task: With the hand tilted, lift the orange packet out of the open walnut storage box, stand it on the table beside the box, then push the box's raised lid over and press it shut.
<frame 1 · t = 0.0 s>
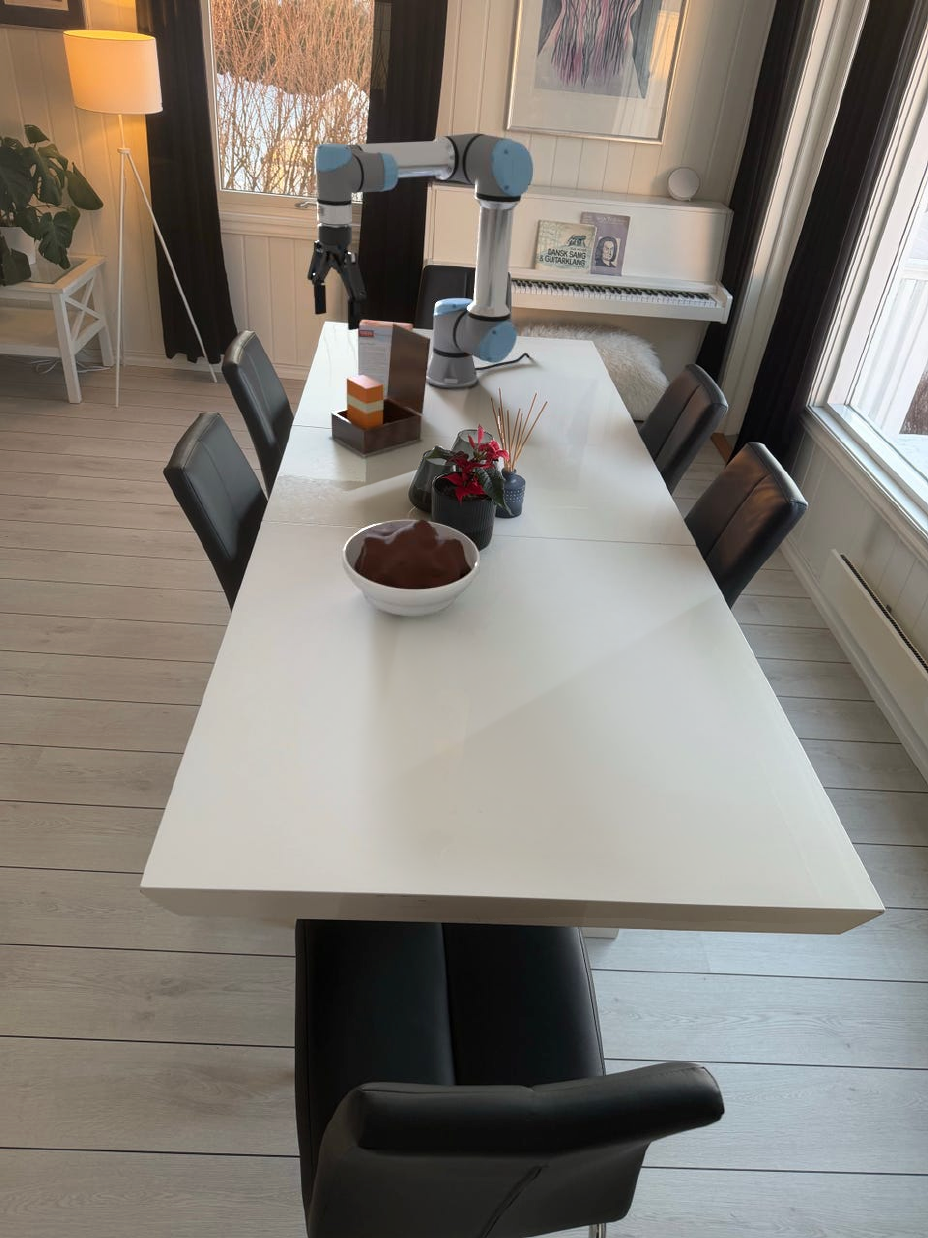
hand: (336, 321, 200), 28 cm above the table, tool pointing down, fingers open, 13 cm apart
packet: (365, 439, 212), point 1 cm above the table, touching storage box
storage box: (376, 439, 215), on the table
bowl of chocolate pudding: (410, 597, 159), on the table
lid: (407, 368, 211), point 16 cm above the table, hinge at 95.0°
cracker box: (385, 400, 237), on the table
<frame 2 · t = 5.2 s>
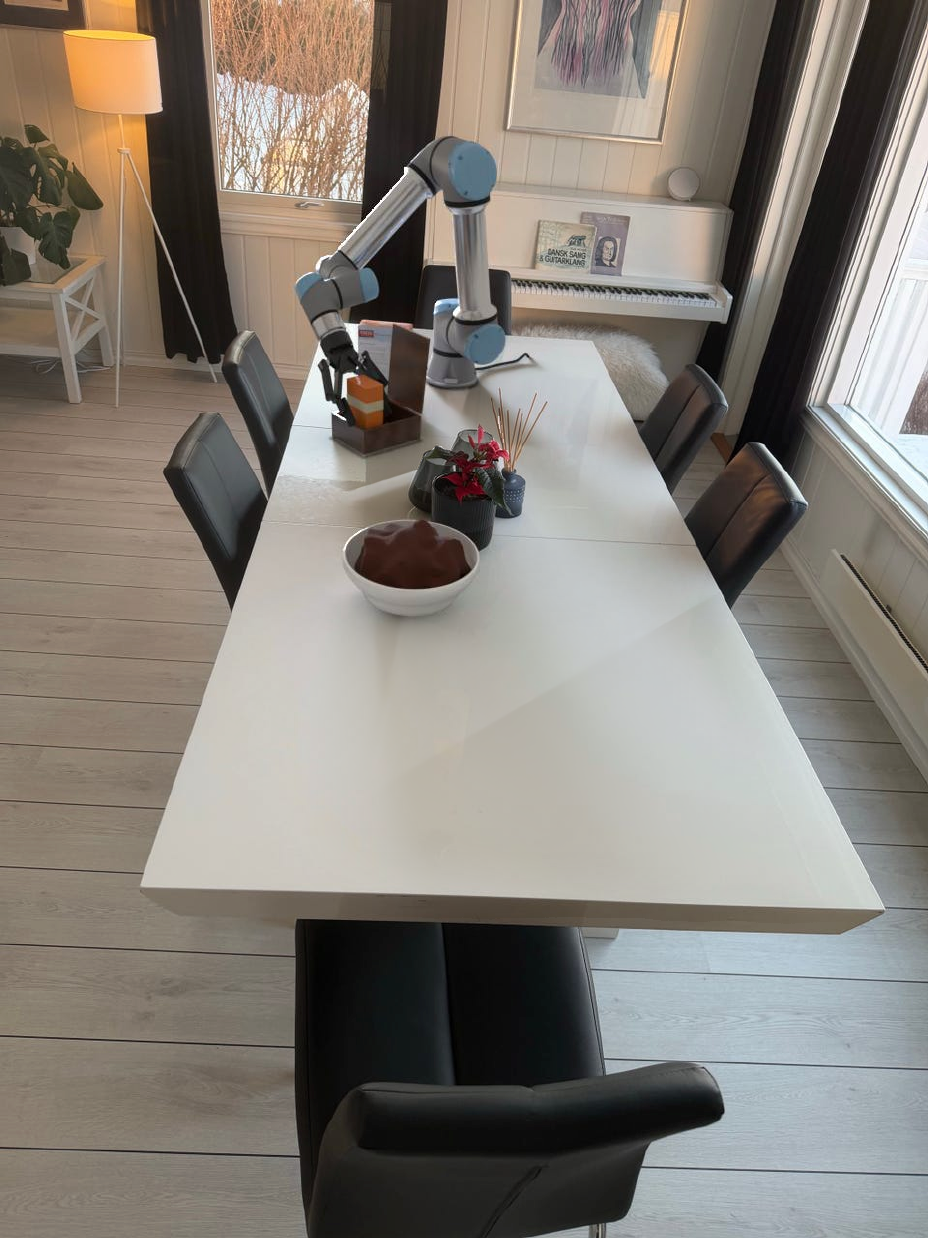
hand: (371, 419, 207), 7 cm above the table, tool tilted 45°, fingers open, 10 cm apart
nothing on the table moved.
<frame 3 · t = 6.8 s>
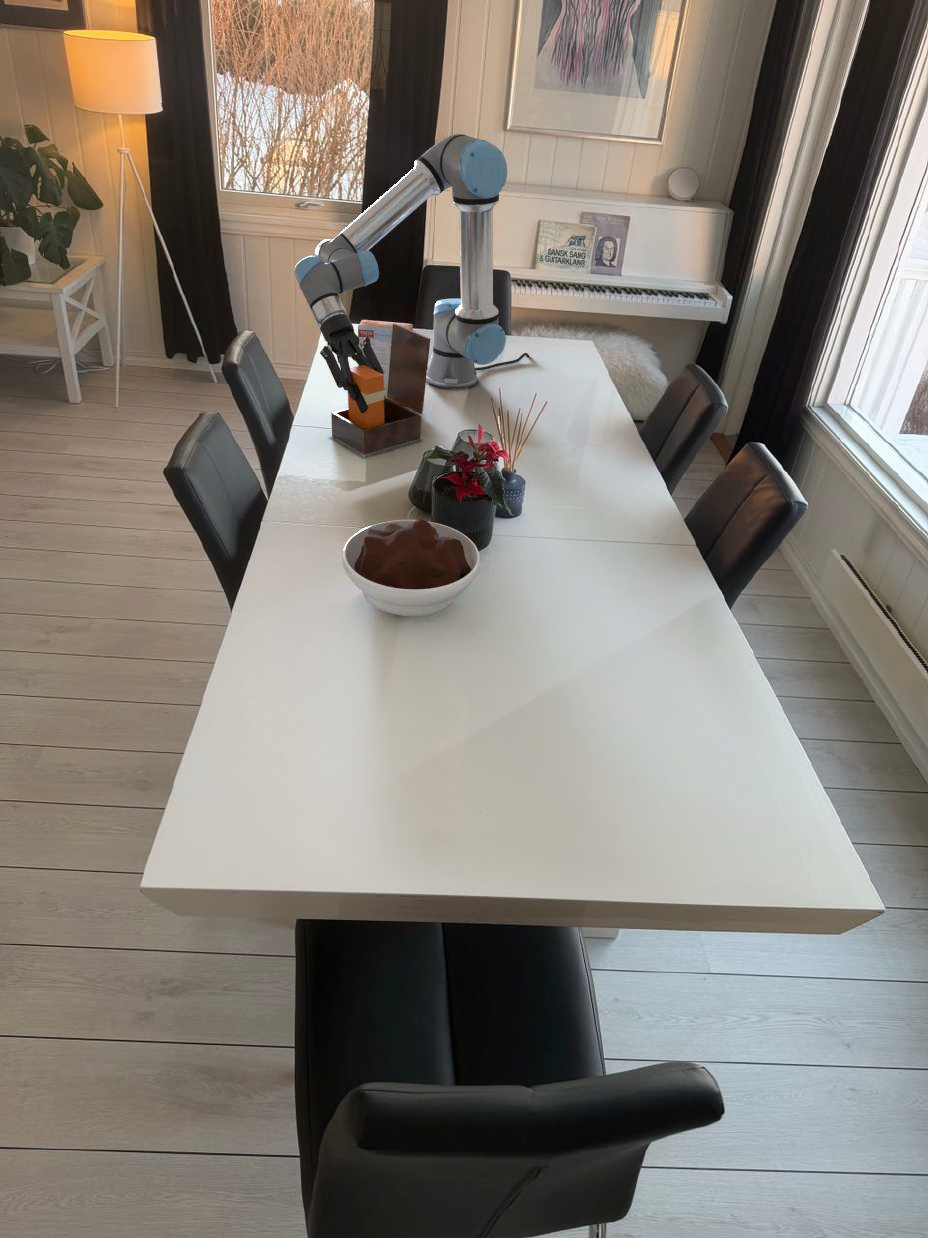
hand: (374, 407, 205), 10 cm above the table, tool tilted 45°, fingers closed on packet, 5 cm apart
packet: (366, 430, 211), point 3 cm above the table, touching gripper
everything else where it was.
when the fingers open (7 cm above the table, at t = 13.8 s): packet stays where it is, on the table.
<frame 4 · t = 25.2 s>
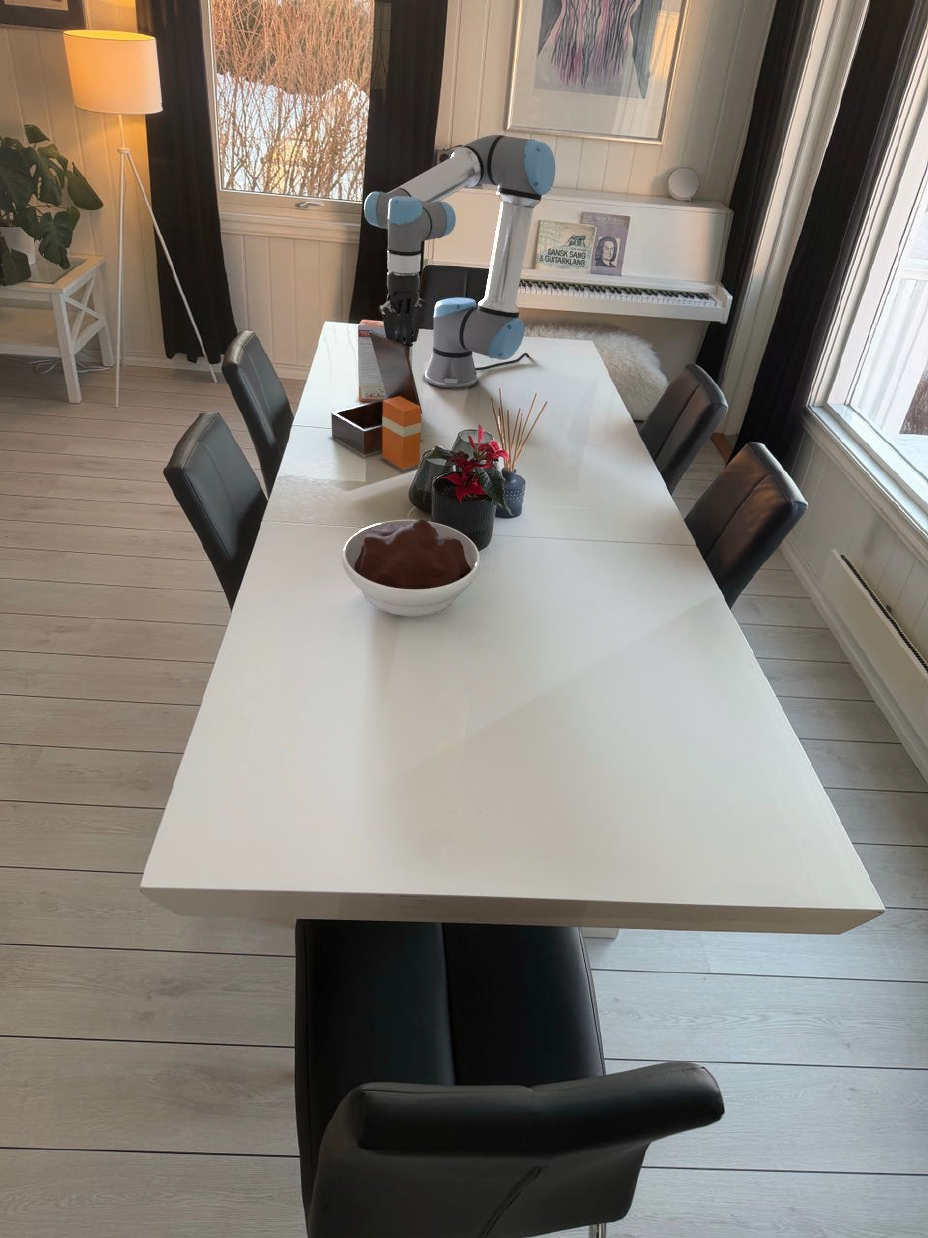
hand: (401, 371, 210), 16 cm above the table, tool pointing down, fingers closed
packet: (400, 463, 205), on the table
lid: (396, 373, 209), point 16 cm above the table, hinge at 72.1°, touching gripper, hand
everything else where it was.
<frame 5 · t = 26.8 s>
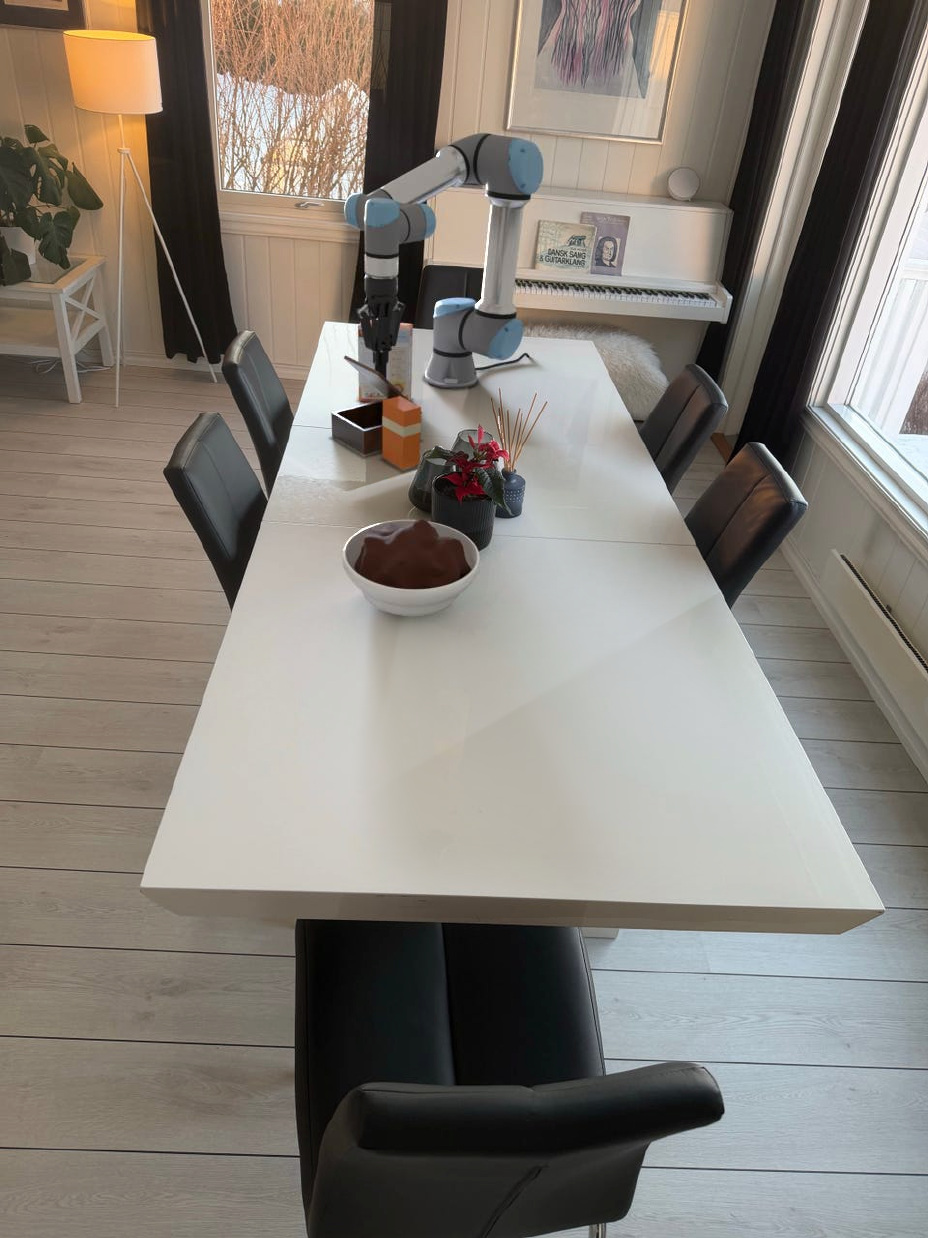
hand: (380, 376, 206), 16 cm above the table, tool pointing down, fingers closed
lid: (383, 385, 208), point 14 cm above the table, hinge at 43.6°
everything else where it was.
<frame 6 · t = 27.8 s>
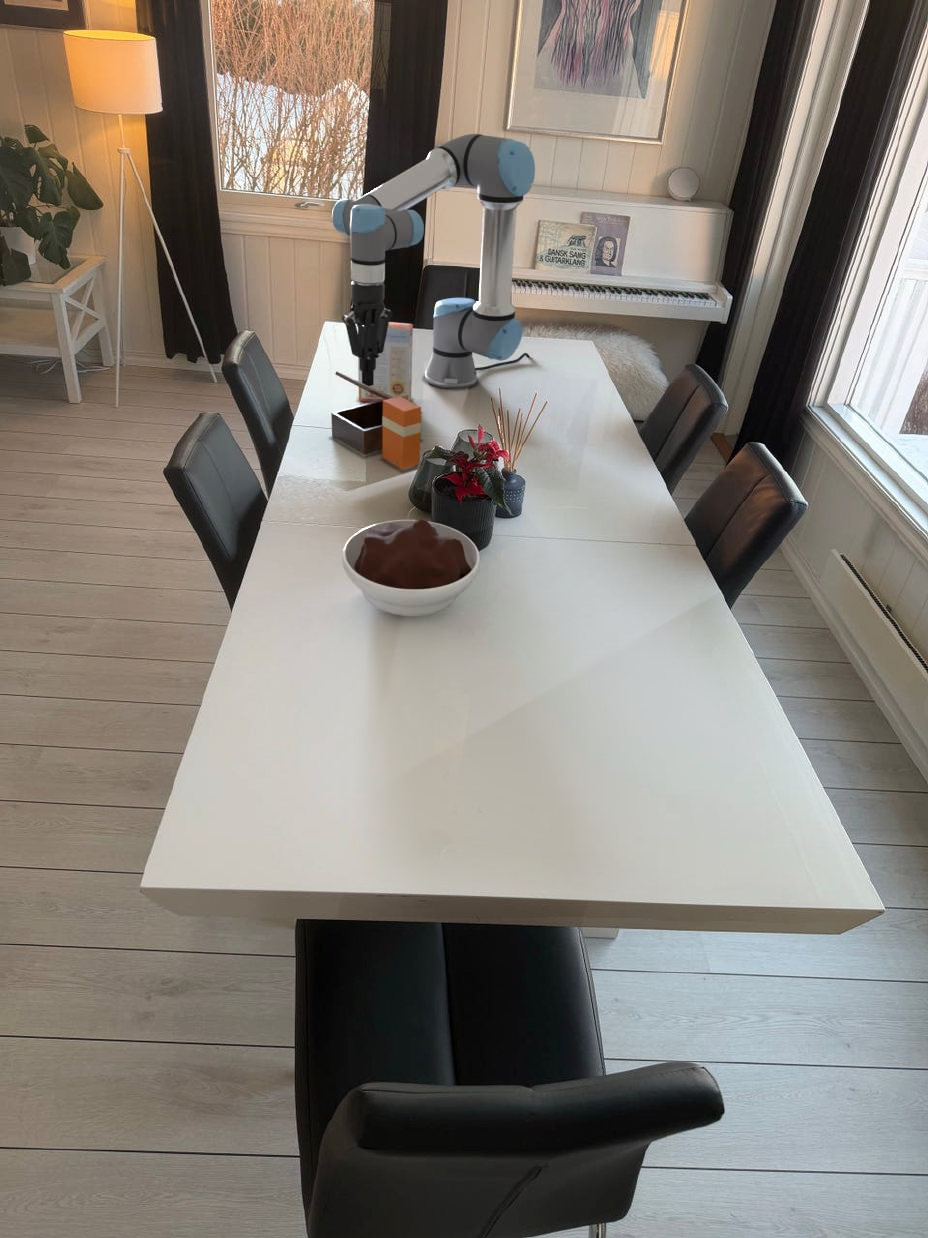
hand: (367, 383, 204), 15 cm above the table, tool pointing down, fingers closed
lid: (379, 393, 208), point 12 cm above the table, hinge at 30.1°, touching gripper
everything else where it was.
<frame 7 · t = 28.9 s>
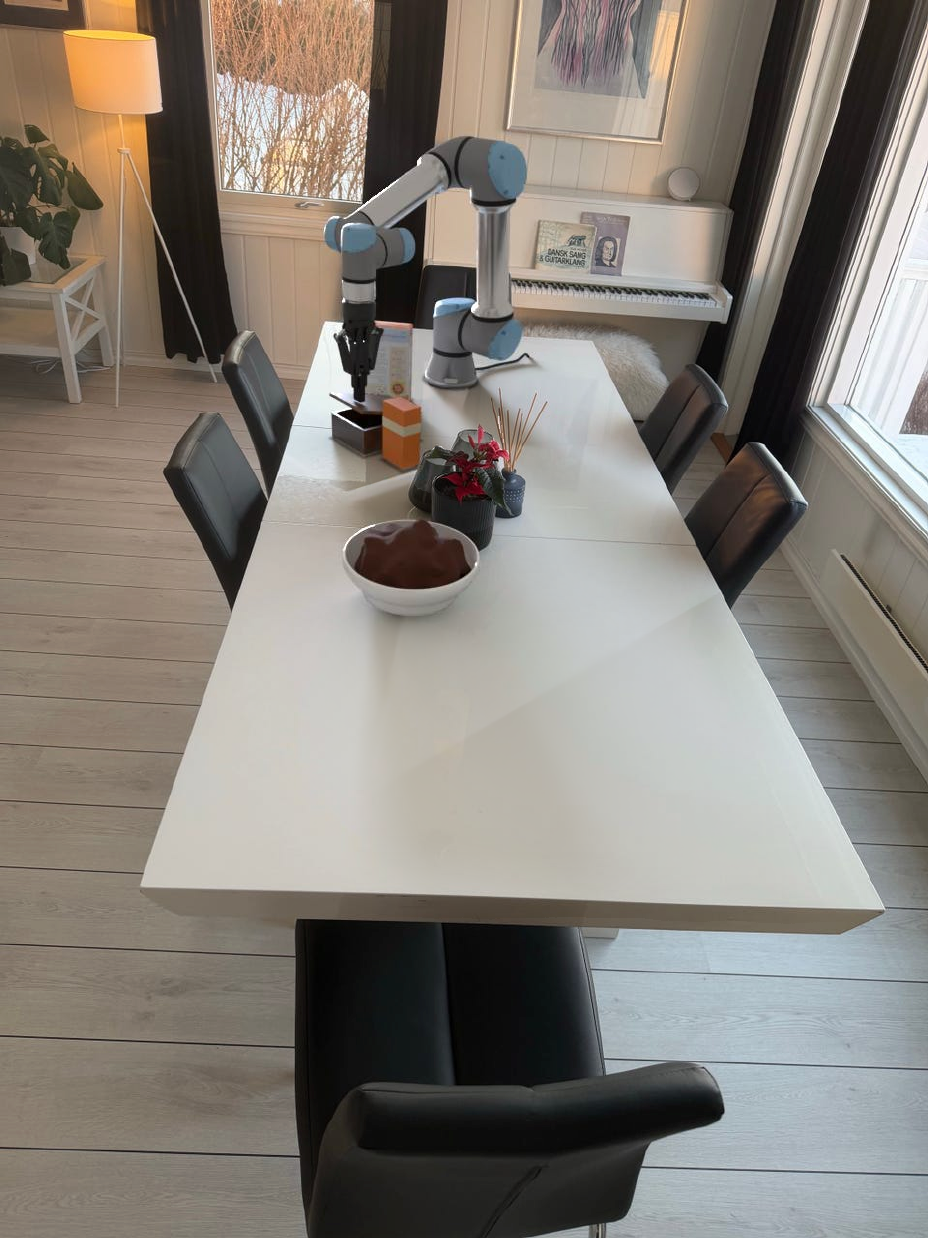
hand: (359, 400, 205), 11 cm above the table, tool pointing down, fingers closed
lid: (375, 404, 209), point 9 cm above the table, hinge at 13.6°, touching gripper
everything else where it was.
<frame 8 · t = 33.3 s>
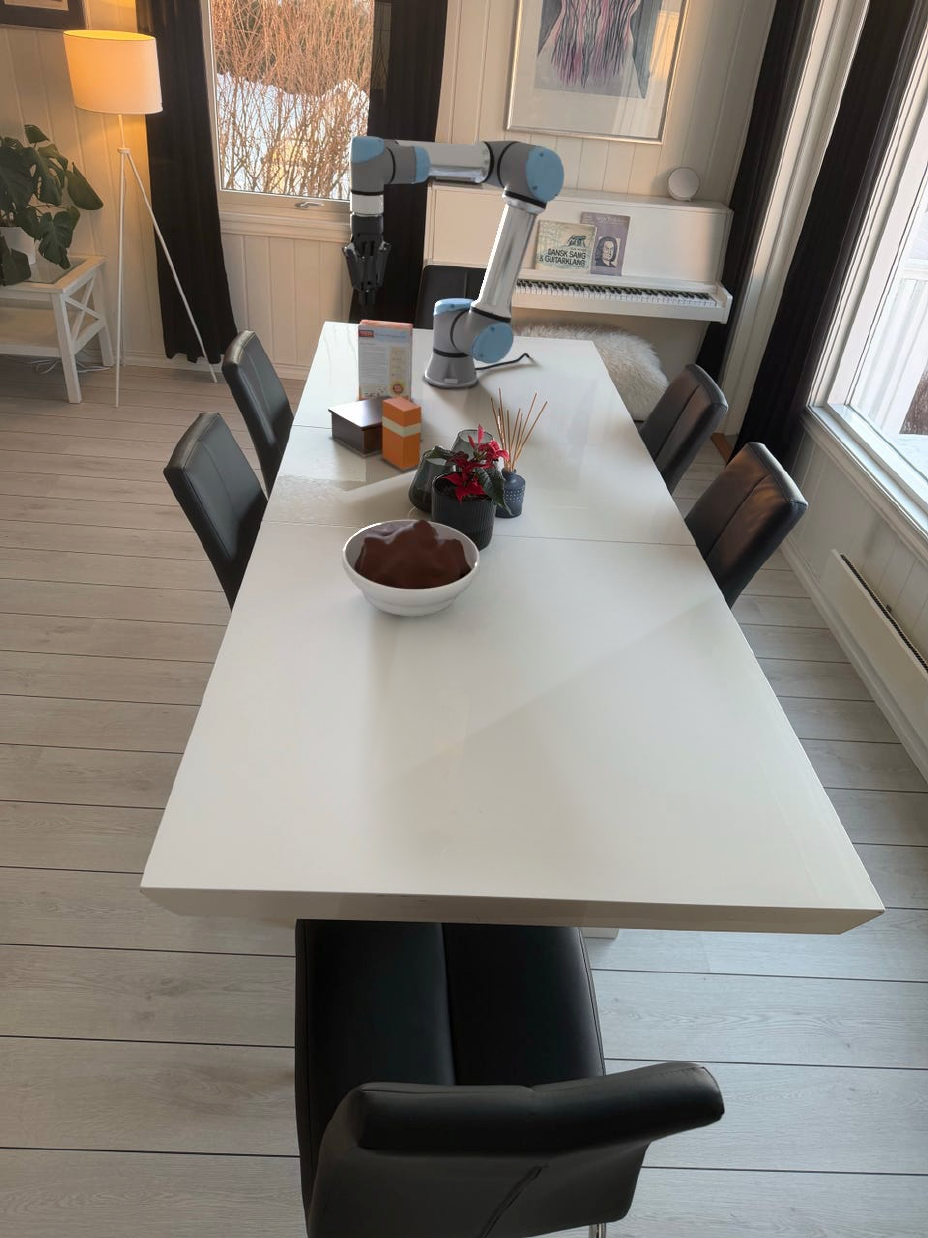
hand: (367, 317, 210), 26 cm above the table, tool pointing down, fingers closed
lid: (375, 411, 210), point 7 cm above the table, hinge at 1.5°
everything else where it was.
at the end: packet inside the target area (0.3 cm from its centre), on the table; packet tilted 0°; lid at +2° (first picture: +95°) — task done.
